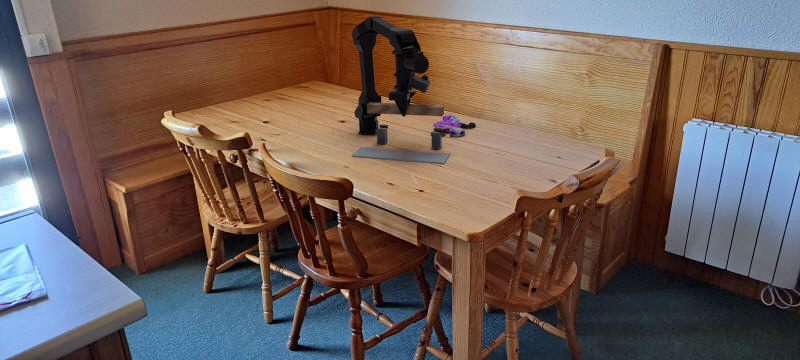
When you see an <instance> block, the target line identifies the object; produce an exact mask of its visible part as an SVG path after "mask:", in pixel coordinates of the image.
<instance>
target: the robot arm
mask: <svg viewBox="0 0 800 360" xmlns="http://www.w3.org/2000/svg"><path fill="white" fill-rule="evenodd" d="M379 35H380V36H382V37H384V38H386V39H387V40H388V43H389V45H391V46H392V48H393V49H392V51H391V54H392V55H394V65H395V66H394V68H395V72H394V73H393V77H395V85H394V88H393V89H392V90H391V91H390V92H389V93H388V100H389V101H394V103H396V105H397V107H398V109H399V111H400V113H401V116H402V117H405V118H406V116H407V115H406V111H407V104H411V101H412V98H413V96H415V95H416V93H417V91H420V92H421V93H425V94H426V93H427V92H428V90H429V87H430V85H431V79H429V78H430V77H429V75H427V74H425V73H426V72H427V71H428V70H429V68H430V62H429V59H428V57H427V56H426V55H424V51H422V49H421V44H420V43H419V41H418V39H417V36H416V34H415V31H413V29H410V28H407V27H397V26H396V25H394V24H393V23H390V22H389V21H386V20H385V19H383V18H382V16H379V15H373V16H368V17H366V18H365V19H364V20H363V21H362V22H360V23H359V24H356V26H355V27H354V28H353V29H352V32H351V38H352V43H353V45H354V47H355V49H357V51H358V57H359V58H358V59H359V69H360V80H361V82H360V83H361V93H360V94H359V97H358V102H357V103H358V105H357V106H356V108H355V110H354V117H355V118H356V119H358V129H359V131H358V132H357V134H358V135H366V136H367V135H369V136H375V135H377V132H376V131H375V129H376V128H379V129H380V124H379V120H378V117H381V115H382V114H374V113H367V104H368V103H370V102H371V103H383V102H382V96H381V94H379V93H378V92H377V90H376V81H375V80H376V79H375V68H374V67H375V66H374V65H375V64H374V54H373V52H374V51H373V50H374V48H375V47H376V44H377V37H378V36H379ZM416 74H417V75H416ZM418 74H419V75H422V76H418ZM413 89H414V90H417V91H413Z"/></svg>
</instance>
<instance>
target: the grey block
mask: <svg viewBox="0 0 800 360" xmlns="http://www.w3.org/2000/svg"><path fill="white" fill-rule="evenodd" d="M439 132H443V128H435V127H434V128H433V131H431V132H430V136H431V149H432V150H433V149H434V150H441V148H442V146H443V145H442V144H443V142H442V140H443V133H439Z"/></svg>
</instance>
